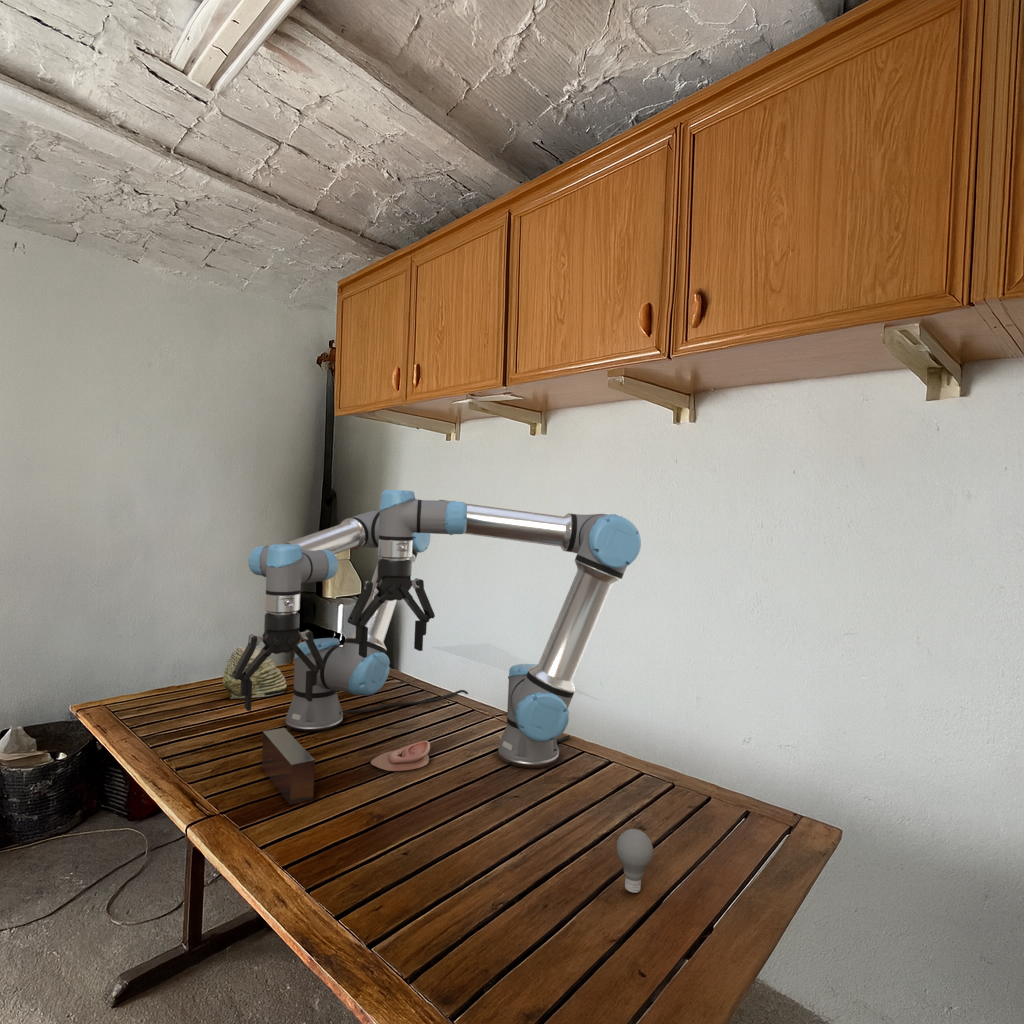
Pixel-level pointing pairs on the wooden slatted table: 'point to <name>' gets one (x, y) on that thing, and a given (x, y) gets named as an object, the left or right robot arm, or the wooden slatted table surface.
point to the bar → (288, 765)
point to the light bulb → (634, 857)
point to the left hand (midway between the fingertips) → (279, 704)
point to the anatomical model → (404, 757)
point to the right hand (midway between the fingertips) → (391, 653)
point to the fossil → (254, 677)
